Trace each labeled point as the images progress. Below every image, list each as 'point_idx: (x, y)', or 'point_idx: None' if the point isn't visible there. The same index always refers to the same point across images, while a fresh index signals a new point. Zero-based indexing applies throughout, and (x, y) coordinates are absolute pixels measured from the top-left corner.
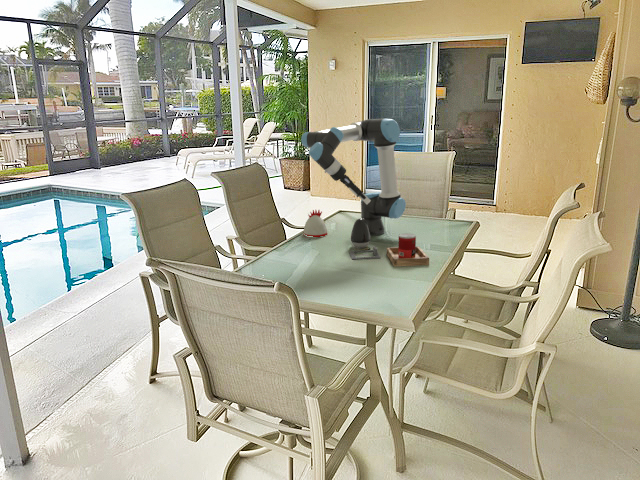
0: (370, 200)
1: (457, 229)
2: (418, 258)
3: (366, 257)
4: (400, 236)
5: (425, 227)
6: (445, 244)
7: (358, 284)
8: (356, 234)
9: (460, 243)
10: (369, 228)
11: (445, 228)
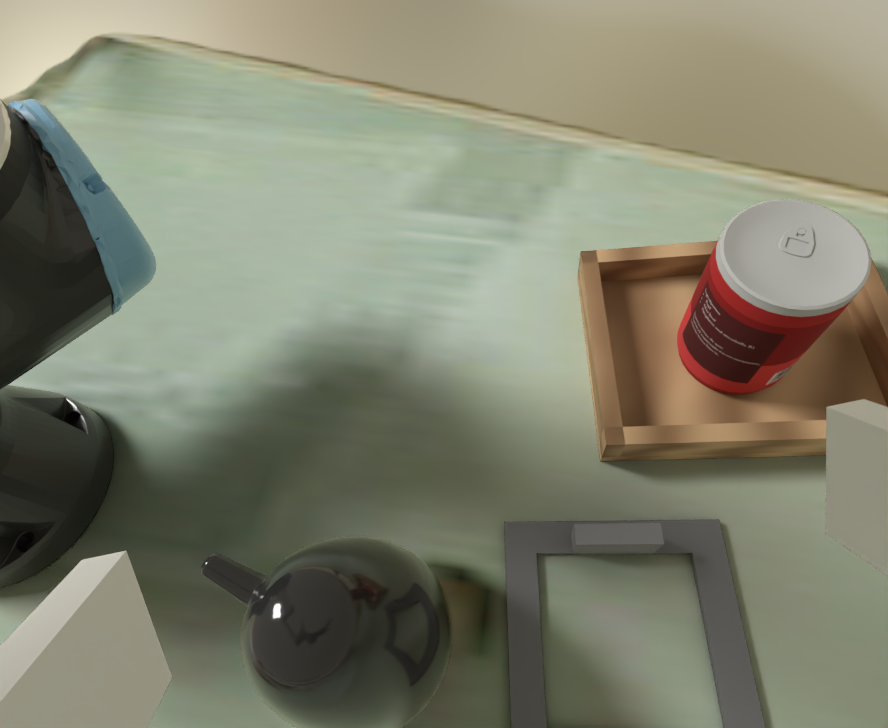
0: (873, 407)
1: (191, 89)
2: (883, 284)
3: (727, 634)
4: (844, 300)
5: None
6: (431, 152)
7: None
8: (416, 688)
9: (427, 102)
10: (49, 499)
11: (151, 124)
